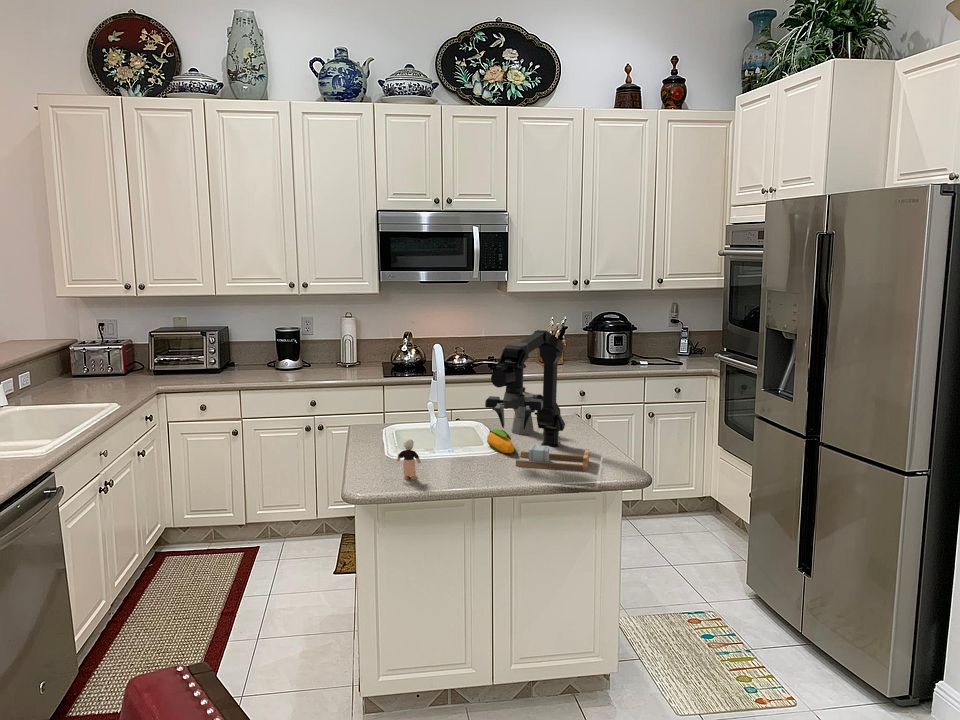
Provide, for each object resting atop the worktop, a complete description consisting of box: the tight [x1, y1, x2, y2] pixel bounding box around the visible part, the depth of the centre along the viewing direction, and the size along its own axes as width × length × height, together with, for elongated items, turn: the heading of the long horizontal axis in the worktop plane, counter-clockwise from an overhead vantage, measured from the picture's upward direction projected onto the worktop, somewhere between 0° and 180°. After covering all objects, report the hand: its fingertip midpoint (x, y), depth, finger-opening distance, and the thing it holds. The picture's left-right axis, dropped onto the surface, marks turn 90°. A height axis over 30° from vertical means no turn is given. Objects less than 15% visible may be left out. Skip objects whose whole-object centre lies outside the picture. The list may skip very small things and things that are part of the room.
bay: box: [515, 448, 590, 472], centre depth 239 cm, size 11×23×5 cm, turn 78°
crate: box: [528, 444, 550, 462], centre depth 240 cm, size 6×6×5 cm
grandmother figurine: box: [396, 438, 421, 481], centre depth 224 cm, size 8×4×13 cm, turn 92°
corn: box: [486, 428, 518, 455], centre depth 254 cm, size 7×8×20 cm
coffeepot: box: [511, 386, 543, 436], centre depth 281 cm, size 15×9×18 cm, turn 70°
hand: (513, 428), depth 240 cm, fingers open, 7 cm apart
